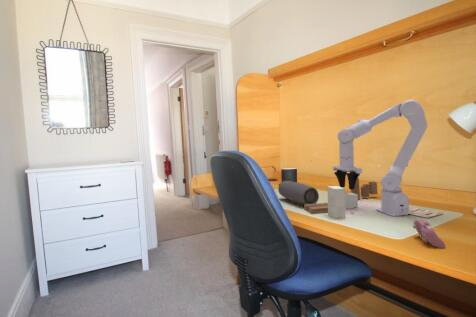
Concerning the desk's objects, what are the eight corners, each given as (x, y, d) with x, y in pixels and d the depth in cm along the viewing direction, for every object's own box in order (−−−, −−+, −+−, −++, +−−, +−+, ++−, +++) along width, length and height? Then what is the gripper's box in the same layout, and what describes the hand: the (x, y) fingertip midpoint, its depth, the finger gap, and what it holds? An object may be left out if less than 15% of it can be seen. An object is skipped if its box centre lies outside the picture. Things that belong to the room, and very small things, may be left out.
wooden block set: (374, 196, 137) (373, 176, 137) (381, 198, 129) (379, 177, 129) (337, 197, 139) (336, 177, 139) (342, 200, 131) (341, 179, 131)
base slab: (344, 212, 111) (344, 206, 110) (312, 215, 109) (311, 209, 108) (334, 207, 119) (334, 202, 118) (304, 210, 116) (304, 204, 116)
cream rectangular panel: (364, 215, 105) (364, 214, 105) (345, 217, 104) (345, 215, 104) (355, 211, 111) (355, 210, 111) (337, 212, 110) (337, 211, 110)
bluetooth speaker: (320, 207, 120) (319, 185, 120) (302, 209, 117) (302, 187, 117) (293, 197, 142) (292, 178, 141) (277, 199, 139) (277, 180, 138)
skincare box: (345, 219, 101) (345, 188, 100) (335, 220, 101) (334, 189, 100) (337, 215, 107) (336, 185, 106) (327, 216, 107) (326, 186, 106)
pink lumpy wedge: (415, 239, 81) (408, 217, 81) (432, 236, 80) (425, 213, 80) (428, 253, 72) (420, 228, 72) (447, 249, 71) (439, 224, 71)
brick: (357, 208, 116) (357, 194, 116) (341, 210, 114) (341, 196, 114) (351, 206, 120) (351, 192, 120) (336, 207, 118) (336, 194, 118)
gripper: (367, 157, 111) (367, 189, 112) (340, 155, 124) (341, 184, 125) (354, 158, 108) (355, 191, 109) (329, 157, 121) (329, 186, 122)
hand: (346, 188), depth 117 cm, fingers open, 5 cm apart
